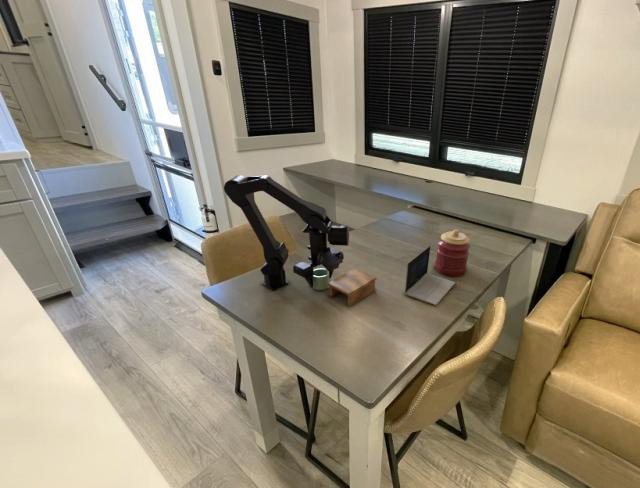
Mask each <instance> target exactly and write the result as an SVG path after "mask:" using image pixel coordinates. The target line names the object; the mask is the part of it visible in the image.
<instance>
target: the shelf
mask: <svg viewBox="0 0 640 488" xmlns="http://www.w3.org/2000/svg"><path fill="white" fill-rule="evenodd" d="M376 281H377V276H375V275H372V274H370V273H368V272H366V271H363V270H361V269H359V268H357V267H355V268H353V269H351V270H349V271H347V272H346V273H344V274H342V275H340V276H338V277H336V278H334V279H333V280H330V282H329V283H328V285H329V296H330V297H331V298H332V297H335V296H337V295H338V294H339V293H343V294H344V295H346V296H347V306H348V307H352V306H353V305H354V304H356V303H357V302H359V301H360V300H362V299H364V298H365V297H367V296H369V295H370V294H371V293H373V292H375V290H376Z"/></svg>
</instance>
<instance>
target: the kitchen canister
mask: <svg viewBox="0 0 640 488" xmlns="http://www.w3.org/2000/svg"><path fill="white" fill-rule="evenodd" d="M437 244H438V246H437V248H436V257H435V261H434V262H435V263H434V267H435V270H436V271H437V272H439V273H440V274H442V275H445V276H449V277H458V276H463V274H465V272H466V271H467V265H468V264H467V263H468V259H469V256H470V251H469V249H470V248H471V244H470V238H469V237H468V236H467V235H466V234H465V233H463V232H460V231H459V230H458V229H453V230H450V231H446V232H444V233H442V234H441V235H440V238H439V239H438V241H437Z"/></svg>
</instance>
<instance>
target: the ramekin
mask: <svg viewBox="0 0 640 488" xmlns="http://www.w3.org/2000/svg"><path fill="white" fill-rule="evenodd" d="M313 270H314V272H313V273H314V274H315V275H314V276H313V288H312V289H314V290H316V291H324V290H327V289H330V286H329V285H328V283H329V282H331V280H330V279H331V278H329V271H328V270H327V269H326V268H314V269H313Z"/></svg>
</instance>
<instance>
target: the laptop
mask: <svg viewBox="0 0 640 488" xmlns="http://www.w3.org/2000/svg"><path fill="white" fill-rule="evenodd" d="M430 254H431V245H428V246H427V247H426V248H425V249H424V250H422V251H421V252H420V253H418V254H417V255H416V256H415V257H413V258H412V259H411V260H409V261H408V262H407V264H406V265H407V266H406V275H405V286H404V287H405V288H404V293H405V295H406V296H408V297H411V298H414V299H417V300H420V301H422V302H425V303H427V304H432V305H434V306H437V305H438V304H439V302H440V301H441V300H442V299H443V298H444V297H445V295H447V294H448V292H449V291H450V290H451V289H452V288H453V287H454V285H455V284H456V282H455V281H452V280H449V279H446V278H443V277H440V276H438V275H434V274H431V273H428V268H429V262H430Z"/></svg>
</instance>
